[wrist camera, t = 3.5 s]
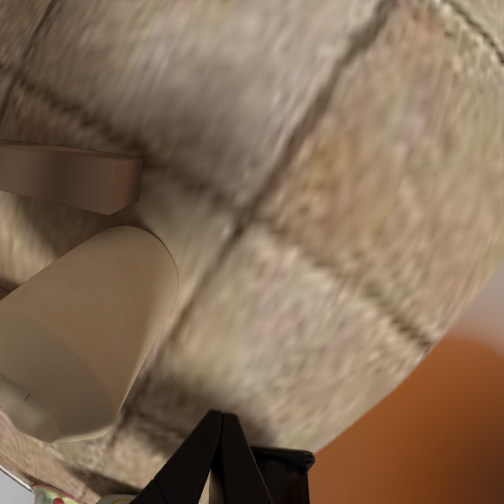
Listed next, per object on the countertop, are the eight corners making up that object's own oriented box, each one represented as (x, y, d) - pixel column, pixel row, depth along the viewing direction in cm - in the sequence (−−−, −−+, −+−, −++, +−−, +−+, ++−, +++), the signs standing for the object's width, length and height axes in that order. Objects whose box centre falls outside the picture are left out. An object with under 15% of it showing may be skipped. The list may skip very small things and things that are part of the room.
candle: (86, 215, 15) (-64, 305, 5) (186, 235, 15) (78, 379, 5) (87, 306, 17) (-13, 426, 7) (175, 330, 17) (109, 488, 7)
